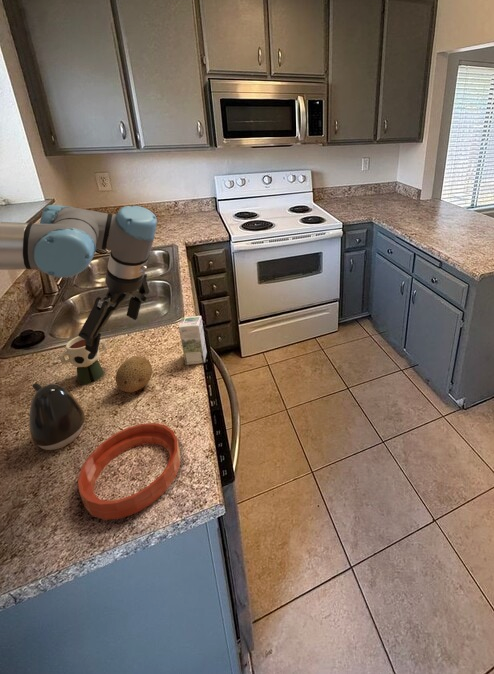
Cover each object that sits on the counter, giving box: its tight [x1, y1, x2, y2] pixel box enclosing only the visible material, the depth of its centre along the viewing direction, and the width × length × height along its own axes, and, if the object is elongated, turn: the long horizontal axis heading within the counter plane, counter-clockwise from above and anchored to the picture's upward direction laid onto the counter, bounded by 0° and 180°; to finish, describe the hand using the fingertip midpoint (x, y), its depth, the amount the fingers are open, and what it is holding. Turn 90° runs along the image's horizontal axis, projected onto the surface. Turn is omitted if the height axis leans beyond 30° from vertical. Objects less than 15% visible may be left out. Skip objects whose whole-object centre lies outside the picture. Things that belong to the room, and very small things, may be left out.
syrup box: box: [178, 315, 208, 366], centre depth 109 cm, size 6×6×14 cm
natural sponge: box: [115, 355, 153, 393], centre depth 98 cm, size 9×9×10 cm
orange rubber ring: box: [77, 422, 181, 521], centre depth 75 cm, size 18×18×5 cm
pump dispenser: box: [28, 382, 86, 451], centre depth 82 cm, size 10×10×15 cm
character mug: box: [58, 336, 107, 385], centre depth 102 cm, size 11×7×13 cm, turn 130°
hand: (112, 332), depth 90 cm, fingers open, 13 cm apart
